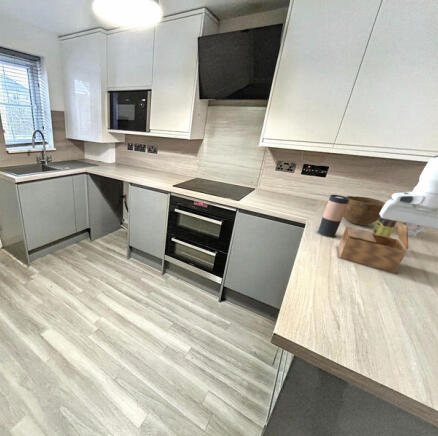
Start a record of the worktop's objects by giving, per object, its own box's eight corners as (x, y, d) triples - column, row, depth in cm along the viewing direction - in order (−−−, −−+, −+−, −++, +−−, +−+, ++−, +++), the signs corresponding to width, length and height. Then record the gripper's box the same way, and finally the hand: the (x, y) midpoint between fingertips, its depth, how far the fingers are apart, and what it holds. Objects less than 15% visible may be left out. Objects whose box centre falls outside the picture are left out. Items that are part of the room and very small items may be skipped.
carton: (388, 259, 99) (399, 237, 95) (395, 273, 89) (407, 249, 85) (338, 246, 108) (346, 226, 104) (339, 257, 97) (348, 235, 94)
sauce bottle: (368, 240, 117) (385, 202, 110) (385, 244, 113) (404, 205, 106) (366, 243, 113) (384, 204, 106) (384, 248, 109) (404, 208, 101)
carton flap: (398, 238, 95) (399, 238, 95) (406, 249, 85) (408, 249, 85) (397, 218, 94) (398, 218, 93) (406, 227, 84) (407, 227, 83)
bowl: (360, 230, 129) (371, 204, 123) (329, 218, 146) (337, 195, 140) (385, 229, 133) (397, 204, 127) (352, 217, 150) (362, 195, 145)
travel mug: (316, 229, 126) (328, 193, 118) (333, 233, 123) (347, 196, 116) (318, 234, 119) (332, 197, 112) (336, 238, 116) (352, 200, 109)
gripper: (467, 205, 80) (446, 241, 85) (387, 192, 91) (372, 225, 96) (477, 209, 75) (453, 247, 81) (391, 195, 86) (375, 229, 91)
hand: (408, 235), depth 88 cm, fingers closed
